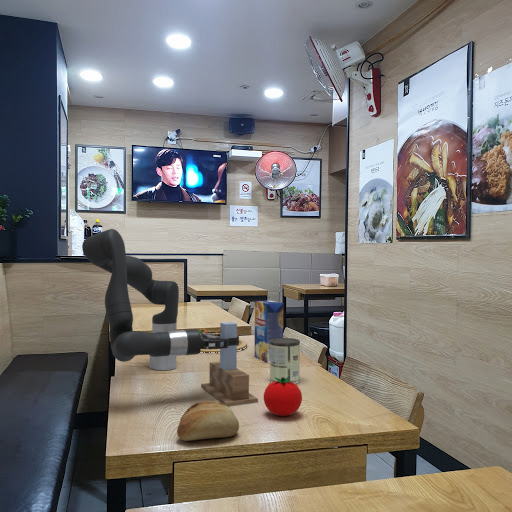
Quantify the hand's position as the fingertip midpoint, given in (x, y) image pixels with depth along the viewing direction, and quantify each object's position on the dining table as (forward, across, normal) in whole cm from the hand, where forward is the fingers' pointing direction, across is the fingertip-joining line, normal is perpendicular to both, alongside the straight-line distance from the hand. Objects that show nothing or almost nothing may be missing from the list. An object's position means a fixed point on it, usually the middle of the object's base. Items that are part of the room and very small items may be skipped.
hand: (233, 339), depth 146 cm
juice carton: (+33, +39, +17) cm, 54 cm away
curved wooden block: (-2, 0, +17) cm, 17 cm away
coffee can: (+22, +6, +17) cm, 29 cm away
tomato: (+5, -24, +17) cm, 30 cm away
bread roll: (-19, -30, +17) cm, 40 cm away
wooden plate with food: (+21, +74, +18) cm, 79 cm away
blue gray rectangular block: (-2, 0, +9) cm, 9 cm away
